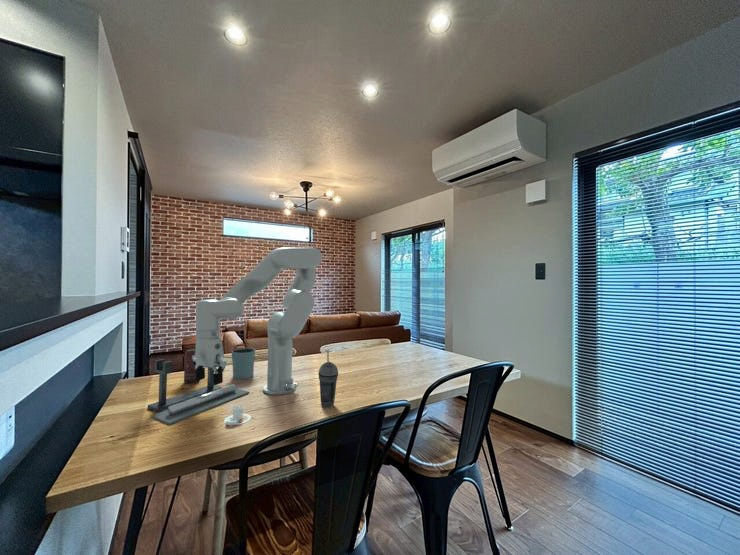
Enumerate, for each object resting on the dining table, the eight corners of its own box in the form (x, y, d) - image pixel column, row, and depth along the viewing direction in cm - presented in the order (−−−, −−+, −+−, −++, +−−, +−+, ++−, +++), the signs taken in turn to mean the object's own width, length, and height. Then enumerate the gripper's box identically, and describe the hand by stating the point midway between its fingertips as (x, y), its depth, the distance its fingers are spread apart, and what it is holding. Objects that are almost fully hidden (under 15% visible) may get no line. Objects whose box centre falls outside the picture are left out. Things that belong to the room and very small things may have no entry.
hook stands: (222, 389, 121) (223, 350, 121) (157, 412, 100) (159, 364, 100) (212, 387, 124) (213, 348, 124) (147, 408, 103) (149, 361, 103)
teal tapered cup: (249, 380, 134) (249, 353, 134) (226, 379, 134) (227, 352, 134) (257, 373, 144) (258, 348, 144) (236, 372, 144) (237, 347, 144)
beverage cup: (320, 411, 104) (322, 353, 104) (314, 403, 111) (316, 348, 111) (340, 407, 107) (342, 351, 108) (333, 400, 114) (334, 347, 114)
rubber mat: (249, 393, 119) (249, 391, 119) (169, 424, 92) (169, 423, 92) (231, 388, 123) (231, 387, 123) (151, 417, 96) (151, 415, 96)
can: (193, 384, 126) (194, 351, 126) (180, 383, 128) (181, 350, 128) (204, 380, 132) (205, 348, 132) (191, 378, 134) (192, 347, 134)
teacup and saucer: (231, 430, 91) (231, 416, 91) (216, 422, 95) (216, 409, 95) (256, 419, 98) (256, 406, 98) (241, 413, 102) (241, 401, 102)
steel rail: (231, 391, 119) (231, 383, 119) (236, 392, 118) (236, 384, 118) (167, 414, 97) (167, 405, 98) (173, 416, 96) (173, 406, 96)
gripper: (233, 334, 107) (234, 382, 108) (202, 330, 115) (203, 375, 115) (214, 338, 101) (215, 389, 101) (183, 334, 108) (183, 381, 109)
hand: (209, 381), depth 108 cm, fingers open, 9 cm apart
